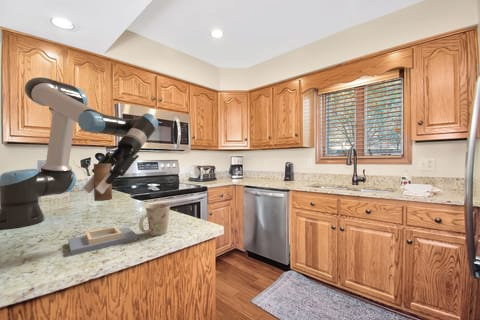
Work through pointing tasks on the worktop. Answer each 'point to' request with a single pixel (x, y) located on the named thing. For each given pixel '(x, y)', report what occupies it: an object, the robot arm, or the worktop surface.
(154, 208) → the mug
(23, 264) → the worktop surface
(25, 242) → the worktop surface
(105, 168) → the post
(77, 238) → the board
